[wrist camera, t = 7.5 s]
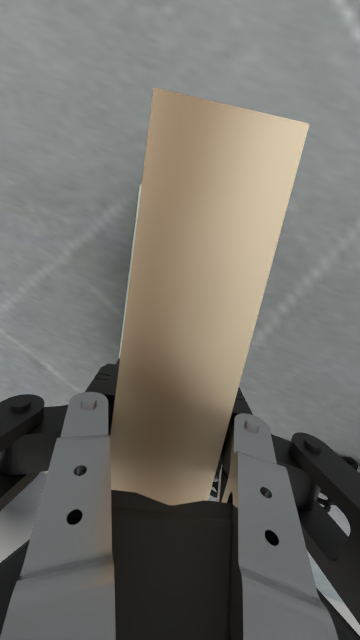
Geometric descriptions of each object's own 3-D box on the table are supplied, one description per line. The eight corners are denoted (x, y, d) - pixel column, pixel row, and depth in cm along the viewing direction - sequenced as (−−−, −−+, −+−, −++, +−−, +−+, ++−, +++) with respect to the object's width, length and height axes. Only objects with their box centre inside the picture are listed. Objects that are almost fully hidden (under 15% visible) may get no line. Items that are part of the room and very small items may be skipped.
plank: (249, 183, 11) (309, 124, 6) (174, 511, 16) (175, 623, 11) (163, 165, 11) (153, 87, 6) (114, 504, 16) (88, 616, 11)
